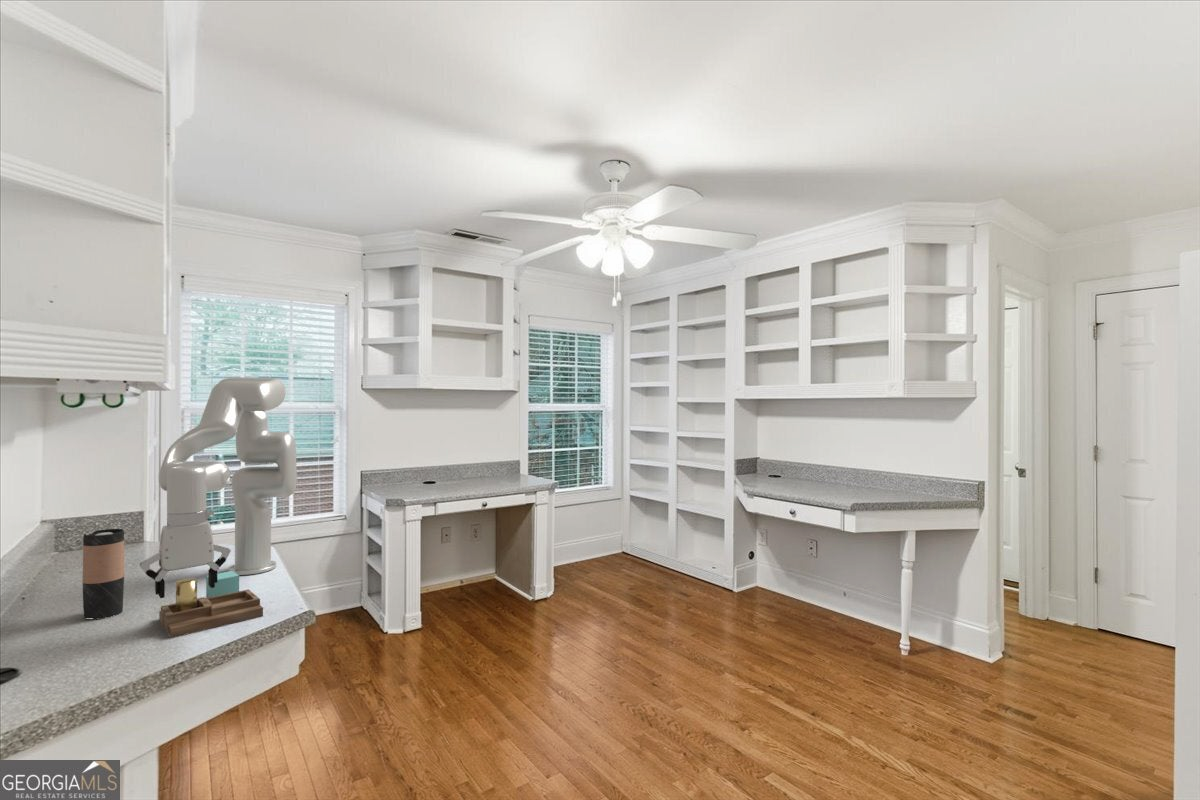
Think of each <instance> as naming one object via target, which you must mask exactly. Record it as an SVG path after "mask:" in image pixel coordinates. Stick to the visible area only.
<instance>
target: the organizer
mask: <svg viewBox="0 0 1200 800" xmlns="http://www.w3.org/2000/svg"><path fill="white" fill-rule="evenodd" d="M158 616H159V618H158V619H159V622H160V623H161V625H162V626H163V627H164V630H165V632H166V633H167V632H168V633H167V634H168V636H169V635H170V636H169V638H171V637H173V638H176V637H175V636H177V637H180V636H179V635H181V636H185V635H188V634H187V633H189V634H193V633H192V632H194V633H196V632H197V631H198V632H201V631H206V630H210V629H214V628H218V627H222V626H226V625H230V624H235V623H234V622H236V623H239V621H240V622H244V621H248V620H251V618H252V619H256V617H257V618H261V617H264V607H263V606H262V605H261V598H259V596H257V594H255V593H254V592H253V591H251V590H250V589H245V590H239V591H238V592H234V593H229V594H224V595H219V596H214V597H209V598H206V597H199V598H197V608H194V609H190V610H185V611H180V612H176V602H175V603H170V604H165V605H161V606H160V610H159V613H158ZM260 616H261V617H260ZM247 619H248V620H247ZM243 620H244V621H243ZM184 634H185V635H184Z"/></svg>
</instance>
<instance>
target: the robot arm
mask: <svg viewBox="0 0 1200 800" xmlns="http://www.w3.org/2000/svg"><path fill="white" fill-rule="evenodd" d="M285 398H286V387H285V384H284V383H283V381H282V380H280V379H279V378H277V377H276V378H275V377H248V376H247V377H245V376H243V377H239V376H238V377H228V378H224V379H221V380H220V381H218V383H216V384H215V385H214V386H213V388H212V389H211V392H210V394H209V397H208V399H207V402H206V404H205V407H204V410H203V413H202V415H201V418H200V422H199V424H198V425H196V426H195V427H193V428H192V429H190V430H188V431H187V432H185V433H184V434H183V435H182V436H180V437H179V438H178V439H176V440H175V441H174V442H173V443H172V444H171V445H170V446H169V448H168V449H167V451H166V453H165V456H164V458H163V460H162V463H161V465H160V468H159V473H158V484H159V487H160V488H161V490H163V491H165V492H166V525H164V526H162V528H161V531H160V532H161V533H160V537H159V538H160V539H159V549H158V552H157V553H156V554H153V555H152V556H150V557H148V558H146V559H145V560H143V561H142V562H140V563H139V567H140V569H142V570H143V573H145V574H146V577H147V576H148V577H149V578H151V579H152V580H154V584H155V585H154V592H155V595H158V596H159V598H160V599H164V598H165V597H166V596H165V594H166V593H165V592H166V591H165V585H166V583H165V580H164V577H166V575H167V574H168V573H169V572H172V571H178V570H185V569H189V568H190V569H191V568H196V567H201V566H206V565H207V566H208V567H209V568H208V570H207V573H208V575H207V576H208V585H209V586H210V587H211V588H215V583H217V574H218V571H219V570H220V568H221V567H222V566H223V565H224V564H225V562H226V561H227V559H228V557H229V556H230V553H231V549H230V548H229V547H224V546H221V545H218V544H215V543H214V539H213V531H212V526H211V523H210V521H209V520H208V519H209V518H211V517H214V515H215V514H214V513H215V511H214V510H208V509H207V493H210V492H211V493H212V492H217V491H221V490H223V489H224V488H225V487H226V486H227V485H228V484H229V482H230V481H231V491H232V495H233V500H234V565H231V566H229V568H228V572H229V571H234V572H235V573H236V574H238V575H239V576H249V575H256V574H261V573H262V574H263V573H266V572H269V571H272V570H274V569H275V568H276V567H277V561H275V560H272V550H271V549H272V512H271V508H270V506H269V504H268V503H267V502H266V501H265V499H267V498H286V497H291V496H292V495H293V494H294V493H295V492H296V490H297V489H296V488H297V485H298V484H297V483H298V481H297V480H298V477H297V476H298V473H297V472H298V471H297V447H296V441H295V437H294V436H293V435H292V434H291V433H289V432H285V431H270V430H269V425H268V422H269V421H268V419H269V418H268V414H267V411H271V410H273V409H275V408H277V407H279V406H280V405H282V403H284V401H285ZM234 437H235V450H236V457H237V459H238V461H240V462H242V463H244V464H245V463H246V464H271V463H274V464H276V465H277V466H265V465H264V466H246V467H242V468H239V469H238V470H236V471H235V472H234V473H233V475H232V477H231V470H230V468H229V466H228V465H227V464H226V463H224V462H222V461H217V460H213V461H212V460H210V461H208V460H207V461H206V460H205V461H203V460H202V461H201V460H199V461H197V460H194V461H193V460H192V461H188V459H189V458H190V457H192V456H193V455H195V454H197V453H199V452H200V451H203V450H206V449H208V448H211V447H213V446H216V445H219V444H222V443H225V442H228V441H230V440H231V439H233V438H234ZM230 479H231V480H230ZM214 551H215V552H216V553H217V552H218V553H221V554H220V556H219V557H218V558H217V560H215V561H214V558H215V552H214ZM156 562H158V565H159V569H157V571H154V570H153V569H152V568H151V567H150V566H151V565H153V564H155V563H156Z"/></svg>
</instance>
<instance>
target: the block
mask: <svg viewBox="0 0 1200 800" xmlns="http://www.w3.org/2000/svg"><path fill="white" fill-rule="evenodd" d="M205 578H206V579H205V580H206V581H205V583H206V585H205V591H206V592H205V594H206V595H205V598H206V597H207V598H209V597H214V596H219V595H224V594H229V593H234V592H238V591H240V575H238V574H236V573H235V572H234V571H229V570H228V571H225V572H217V583H215V588H211V587H210V586H209V585H208V575H205Z"/></svg>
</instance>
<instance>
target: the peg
mask: <svg viewBox="0 0 1200 800" xmlns="http://www.w3.org/2000/svg"><path fill="white" fill-rule="evenodd" d="M197 599H198V578H197V577H196V578H195V577H188V578H181V579H178V580H177V581H175V603H176V612H180V611H185V610H190V609H194V608H197Z"/></svg>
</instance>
